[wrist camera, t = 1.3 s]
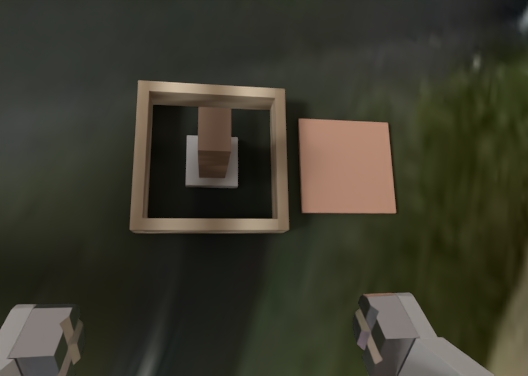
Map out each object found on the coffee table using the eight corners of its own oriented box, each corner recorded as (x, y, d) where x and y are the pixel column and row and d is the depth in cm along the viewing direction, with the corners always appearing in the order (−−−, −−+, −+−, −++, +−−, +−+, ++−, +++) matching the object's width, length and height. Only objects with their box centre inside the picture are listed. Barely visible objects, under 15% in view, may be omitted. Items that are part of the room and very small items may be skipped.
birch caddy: (135, 233, 35) (129, 229, 33) (143, 94, 38) (138, 80, 36) (282, 233, 38) (289, 229, 35) (278, 102, 41) (284, 88, 38)
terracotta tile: (301, 213, 38) (302, 212, 38) (297, 120, 40) (298, 118, 40) (393, 213, 40) (396, 213, 39) (385, 124, 42) (387, 122, 42)
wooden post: (186, 187, 37) (180, 159, 28) (187, 138, 38) (182, 96, 29) (237, 188, 38) (247, 161, 29) (237, 140, 39) (247, 100, 30)
